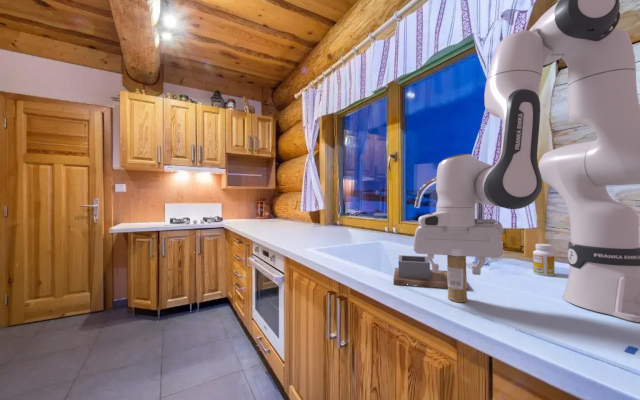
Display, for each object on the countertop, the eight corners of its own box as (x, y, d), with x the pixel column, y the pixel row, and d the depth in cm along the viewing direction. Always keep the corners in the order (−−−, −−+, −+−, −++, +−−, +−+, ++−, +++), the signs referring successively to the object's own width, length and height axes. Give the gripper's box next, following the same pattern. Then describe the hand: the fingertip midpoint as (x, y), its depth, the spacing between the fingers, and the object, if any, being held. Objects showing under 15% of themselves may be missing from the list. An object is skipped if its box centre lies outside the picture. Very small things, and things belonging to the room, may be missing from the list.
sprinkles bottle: (471, 300, 67) (470, 247, 67) (461, 304, 65) (460, 249, 65) (453, 294, 71) (452, 244, 71) (443, 298, 69) (442, 246, 68)
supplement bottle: (552, 273, 89) (552, 243, 89) (556, 277, 84) (555, 246, 84) (532, 270, 92) (531, 242, 92) (534, 274, 87) (534, 245, 87)
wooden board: (458, 275, 88) (458, 270, 88) (467, 290, 74) (467, 283, 74) (395, 271, 94) (395, 266, 94) (393, 284, 80) (393, 278, 80)
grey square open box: (427, 271, 88) (427, 256, 88) (430, 279, 80) (429, 263, 80) (399, 269, 91) (399, 255, 91) (398, 277, 82) (398, 261, 82)
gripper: (498, 218, 68) (498, 272, 68) (412, 217, 74) (413, 266, 74) (507, 220, 62) (507, 279, 62) (413, 218, 68) (414, 273, 68)
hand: (455, 272), depth 68 cm, fingers open, 8 cm apart
